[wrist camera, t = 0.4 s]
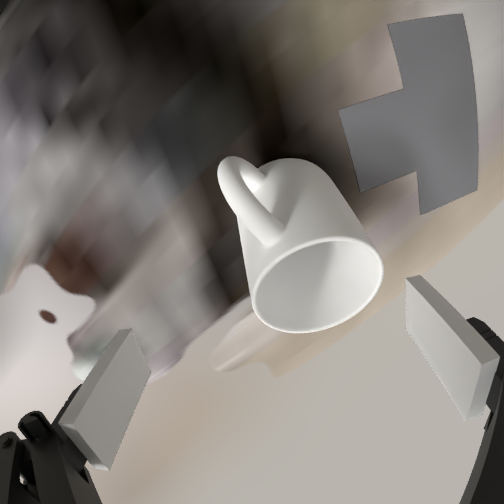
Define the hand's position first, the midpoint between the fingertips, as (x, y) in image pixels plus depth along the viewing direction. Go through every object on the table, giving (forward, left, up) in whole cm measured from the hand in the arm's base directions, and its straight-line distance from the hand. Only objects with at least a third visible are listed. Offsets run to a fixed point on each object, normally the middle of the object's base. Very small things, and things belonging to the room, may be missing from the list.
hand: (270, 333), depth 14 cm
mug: (+2, +2, -14) cm, 15 cm away
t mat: (+2, +16, -14) cm, 22 cm away
